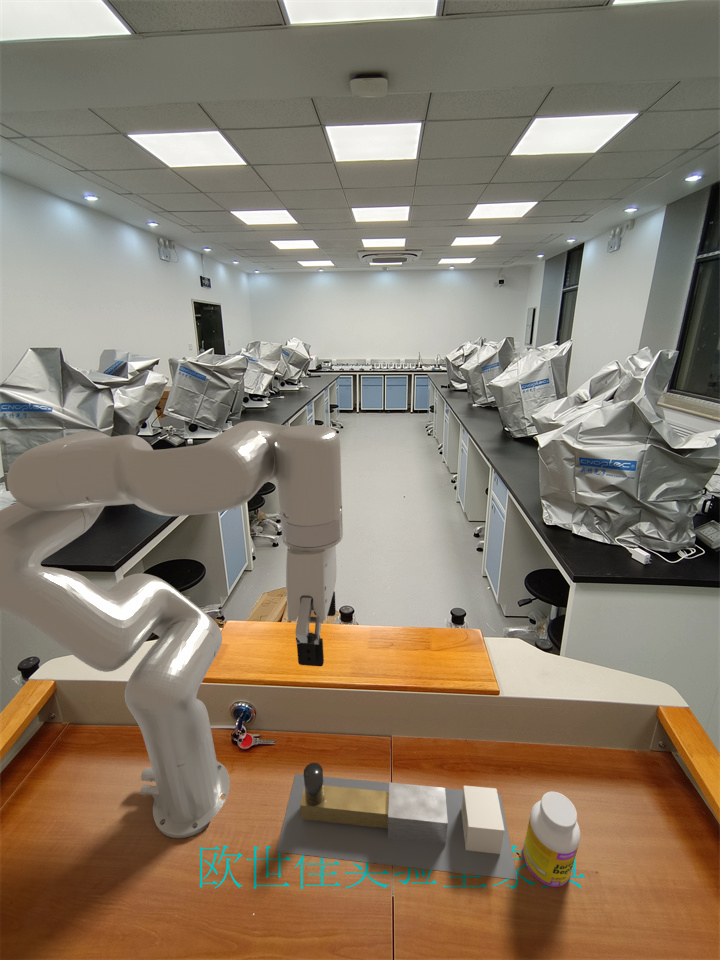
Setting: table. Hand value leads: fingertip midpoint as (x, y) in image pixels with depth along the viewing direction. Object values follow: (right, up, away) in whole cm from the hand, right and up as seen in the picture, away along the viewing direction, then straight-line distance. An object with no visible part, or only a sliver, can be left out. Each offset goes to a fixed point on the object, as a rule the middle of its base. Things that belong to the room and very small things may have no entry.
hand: (318, 637), depth 58 cm
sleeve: (+15, -34, +10) cm, 38 cm away
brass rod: (+7, -34, +11) cm, 36 cm away
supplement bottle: (+34, -37, +6) cm, 50 cm away
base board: (+11, -35, +11) cm, 38 cm away
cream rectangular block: (+25, -34, +9) cm, 43 cm away
